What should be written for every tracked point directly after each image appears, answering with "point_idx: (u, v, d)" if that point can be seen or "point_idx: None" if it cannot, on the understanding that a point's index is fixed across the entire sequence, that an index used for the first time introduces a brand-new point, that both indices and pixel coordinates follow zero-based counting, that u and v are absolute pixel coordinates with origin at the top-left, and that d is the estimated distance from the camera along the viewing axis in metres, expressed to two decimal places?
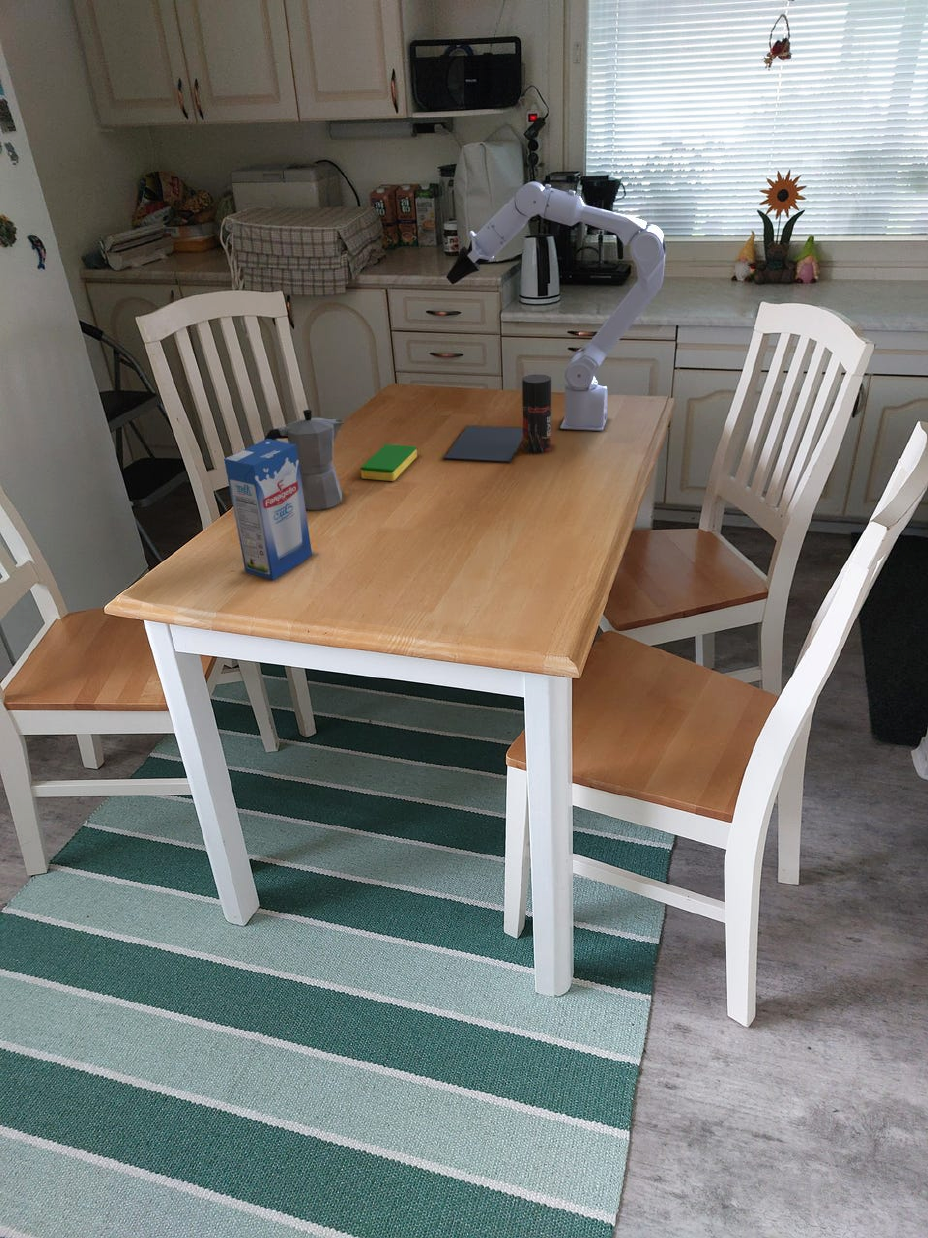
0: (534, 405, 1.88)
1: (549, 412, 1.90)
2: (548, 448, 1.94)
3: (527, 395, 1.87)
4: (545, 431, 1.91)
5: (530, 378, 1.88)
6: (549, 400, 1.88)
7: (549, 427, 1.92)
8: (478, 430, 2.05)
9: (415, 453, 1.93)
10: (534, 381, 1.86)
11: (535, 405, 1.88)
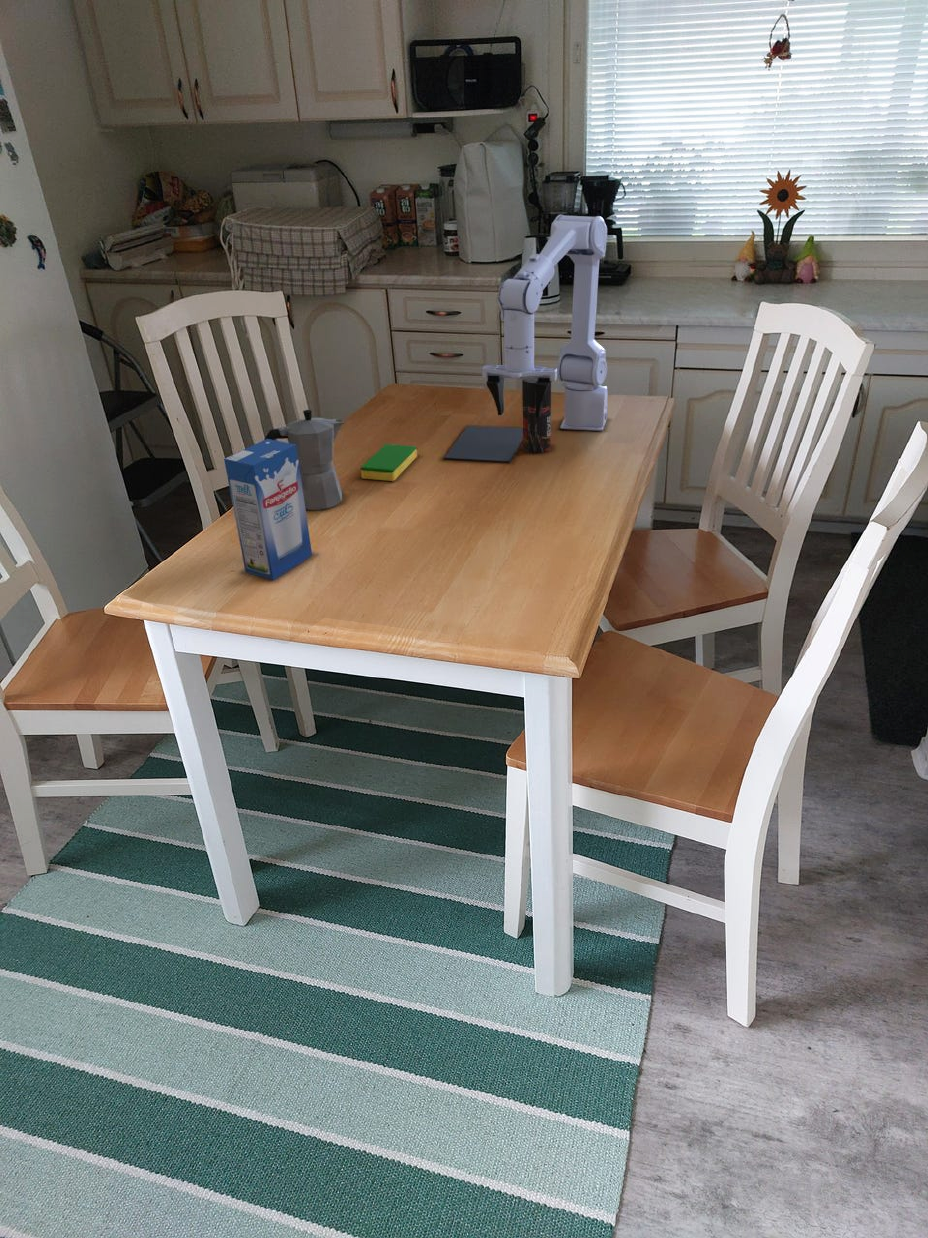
0: (534, 405, 1.88)
1: (549, 412, 1.90)
2: (548, 448, 1.94)
3: (527, 395, 1.87)
4: (545, 431, 1.91)
5: None
6: (549, 400, 1.88)
7: (549, 427, 1.92)
8: (478, 430, 2.05)
9: (415, 453, 1.93)
10: (534, 381, 1.86)
11: (535, 405, 1.88)
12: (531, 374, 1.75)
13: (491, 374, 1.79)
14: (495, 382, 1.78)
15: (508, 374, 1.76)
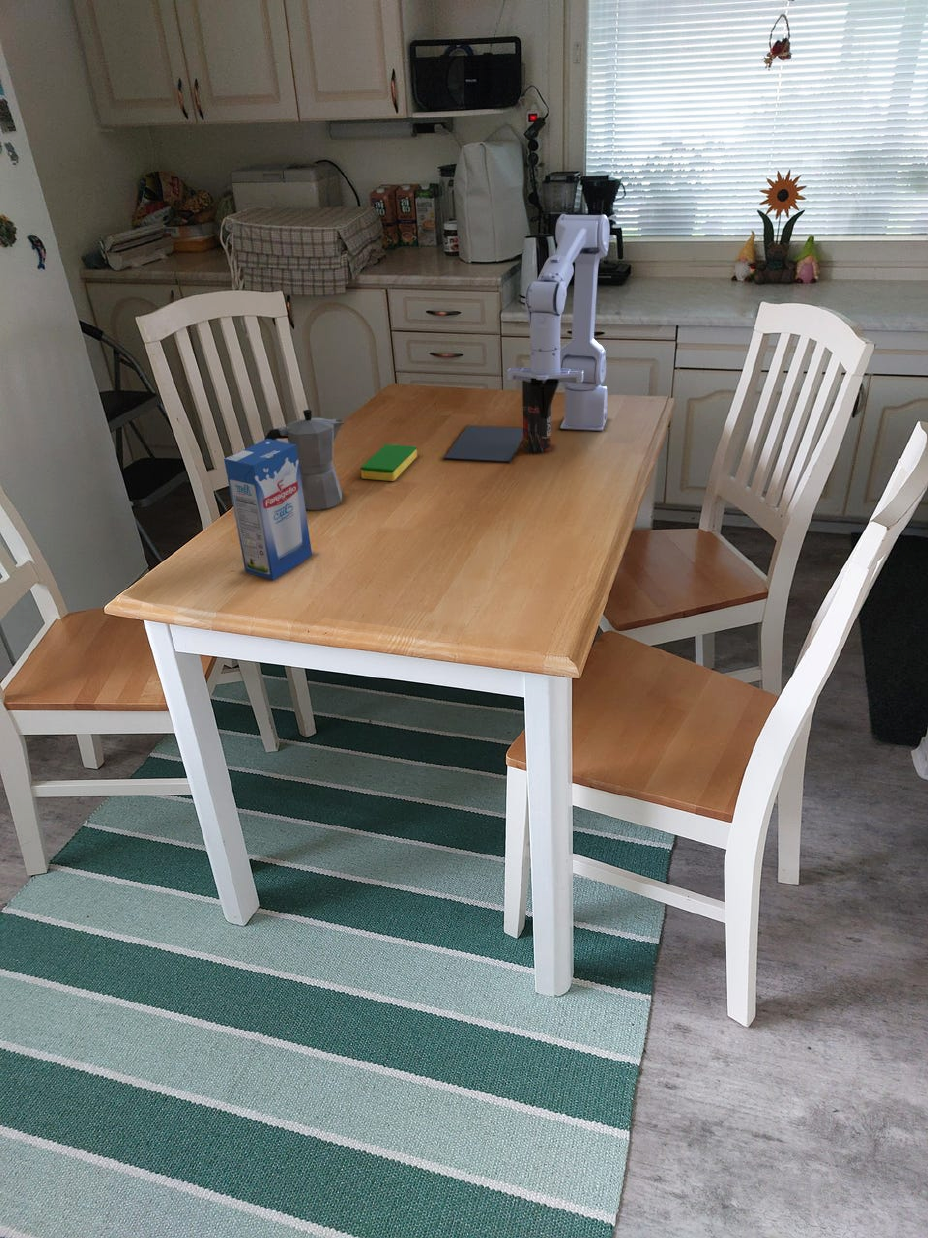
0: (534, 405, 1.88)
1: None
2: (548, 448, 1.94)
3: (527, 395, 1.87)
4: (545, 431, 1.91)
5: None
6: None
7: (549, 427, 1.92)
8: (478, 430, 2.05)
9: (415, 453, 1.93)
10: None
11: (535, 405, 1.88)
12: (557, 376, 1.74)
13: (534, 377, 1.77)
14: (539, 385, 1.76)
15: (534, 376, 1.75)
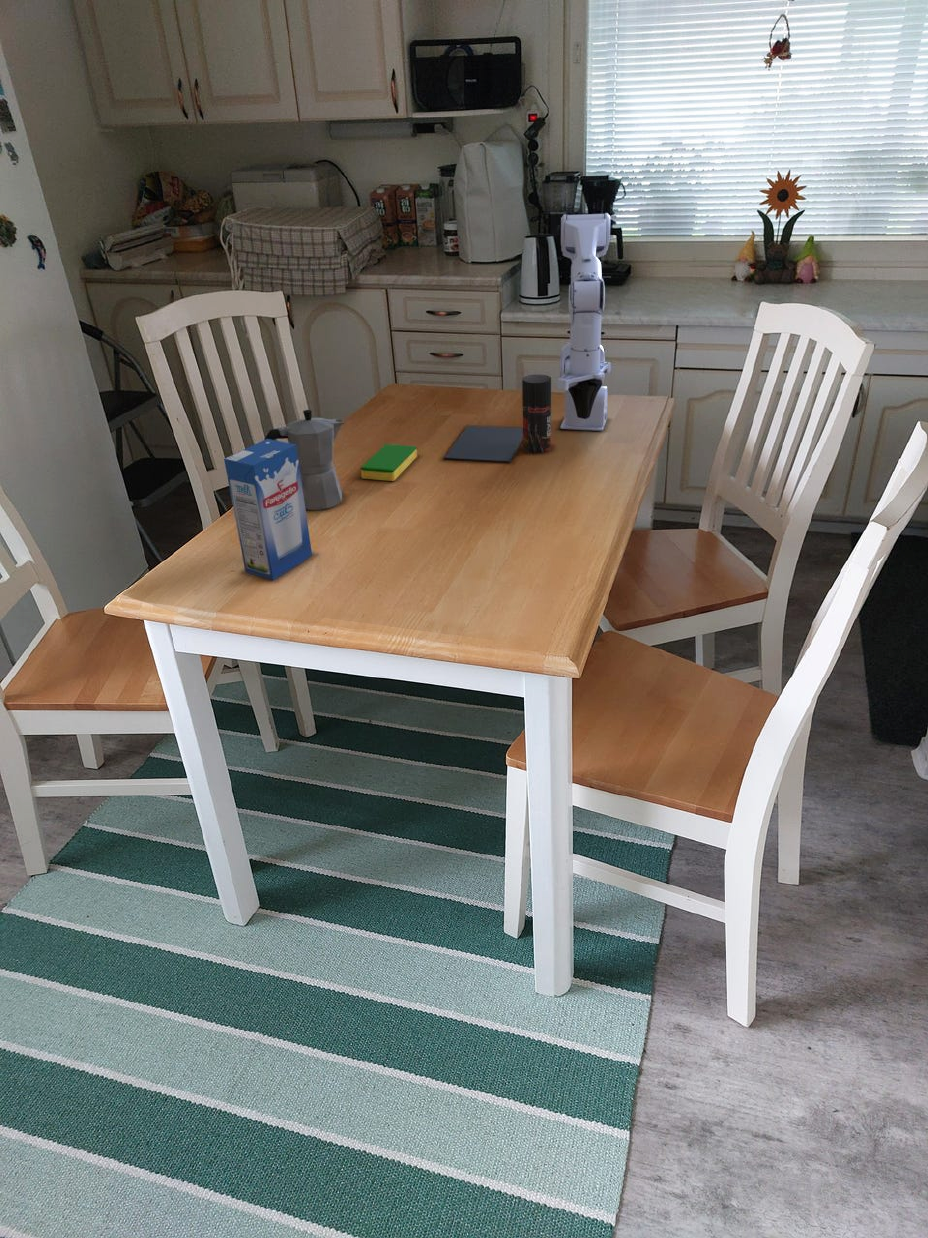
0: (534, 405, 1.88)
1: (549, 412, 1.90)
2: (548, 448, 1.94)
3: (527, 395, 1.87)
4: (545, 431, 1.91)
5: (530, 378, 1.88)
6: (549, 400, 1.88)
7: (549, 427, 1.92)
8: (478, 430, 2.05)
9: (415, 453, 1.93)
10: (534, 381, 1.86)
11: (535, 405, 1.88)
12: (602, 371, 1.76)
13: None
14: (590, 385, 1.75)
15: (591, 377, 1.73)
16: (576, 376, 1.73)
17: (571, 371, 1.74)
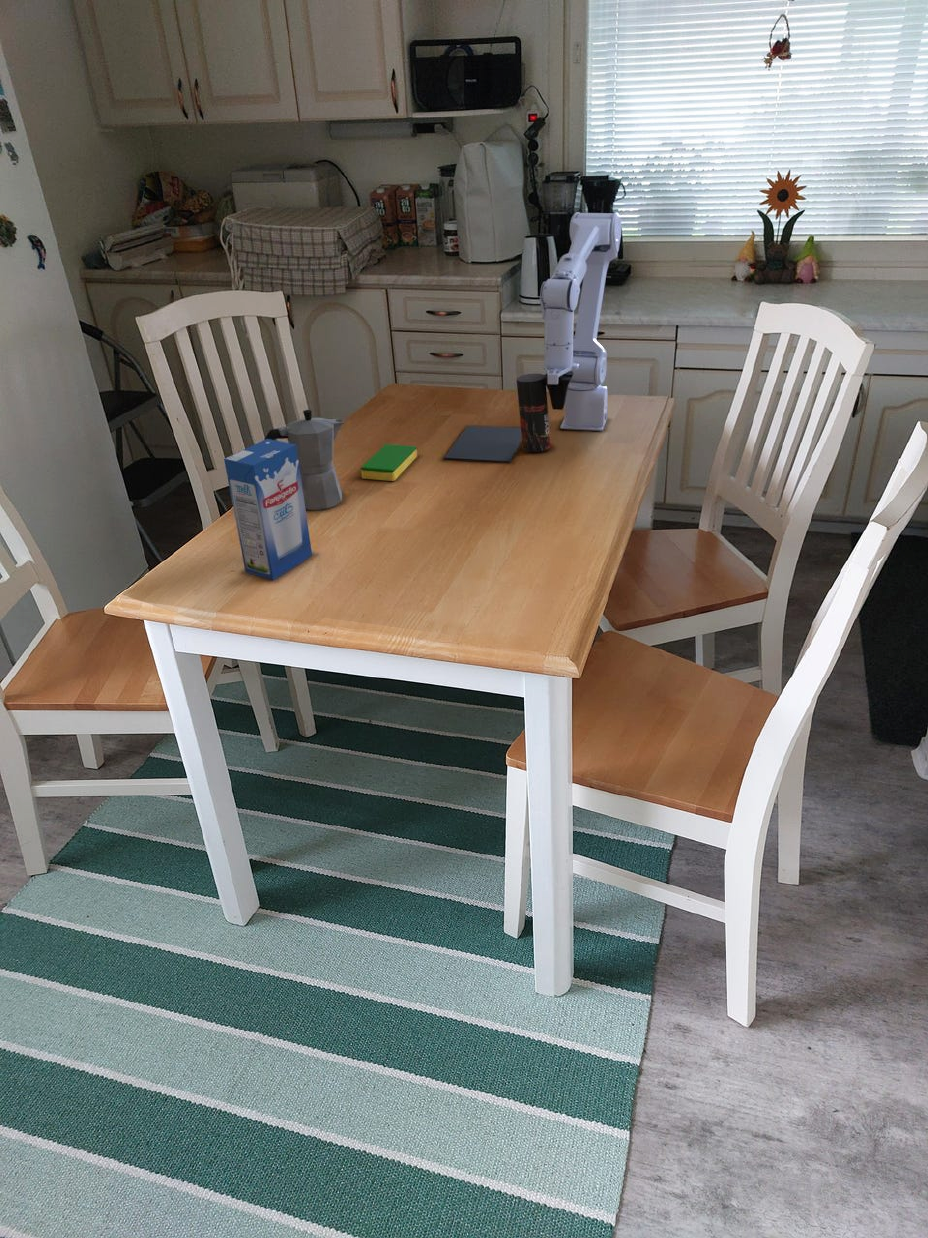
0: (530, 404, 1.88)
1: (546, 410, 1.90)
2: (548, 446, 1.93)
3: (522, 394, 1.87)
4: (543, 430, 1.91)
5: (524, 377, 1.88)
6: (545, 398, 1.88)
7: (547, 425, 1.91)
8: (478, 430, 2.05)
9: (415, 453, 1.93)
10: (528, 380, 1.86)
11: (531, 404, 1.88)
12: None
13: None
14: (568, 377, 1.85)
15: (570, 369, 1.83)
16: (558, 370, 1.82)
17: (550, 366, 1.83)
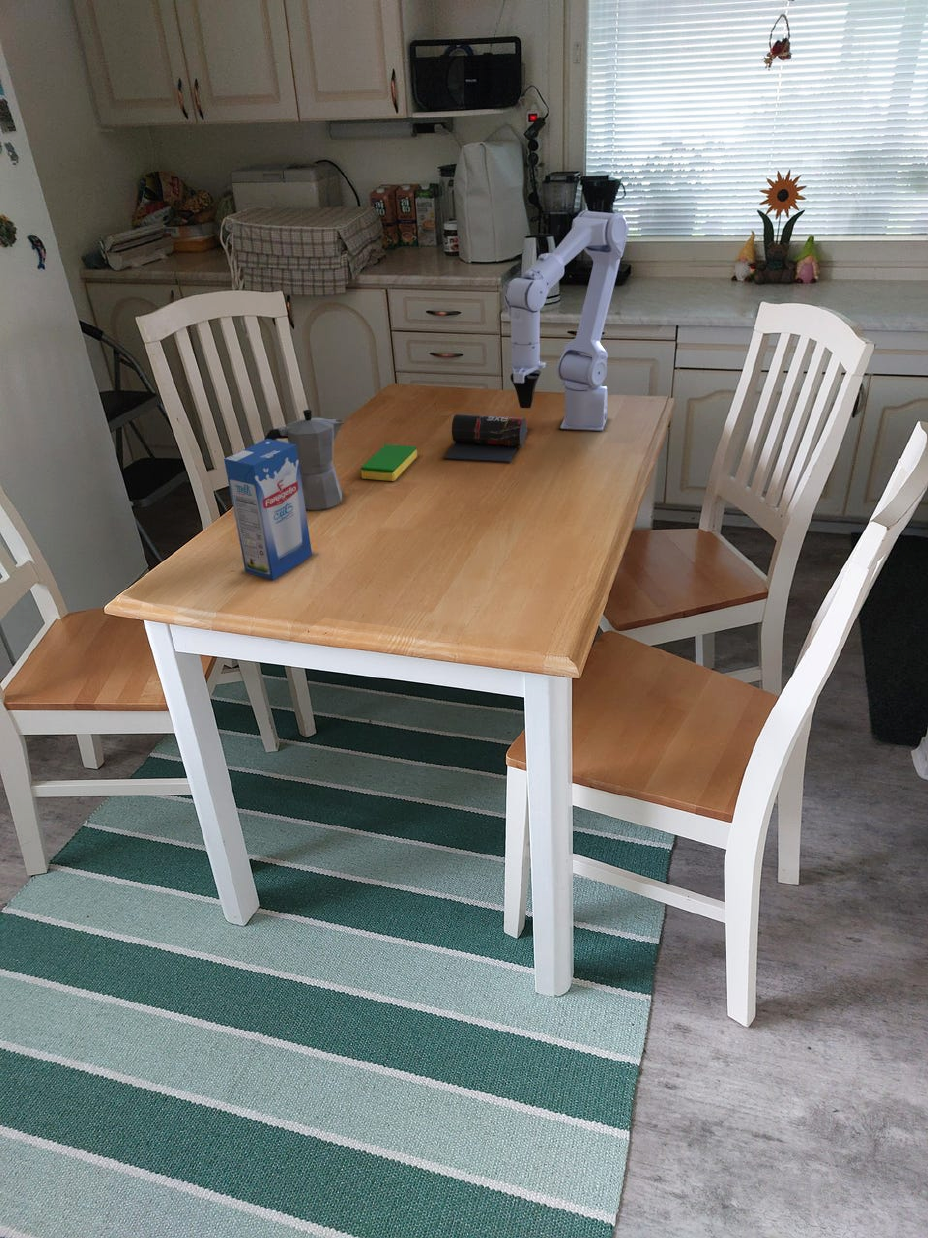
0: (472, 432, 1.95)
1: (484, 417, 1.95)
2: (519, 420, 1.93)
3: (464, 438, 1.96)
4: (500, 422, 1.93)
5: None
6: (473, 416, 1.96)
7: (499, 418, 1.94)
8: None
9: (415, 453, 1.93)
10: None
11: (472, 431, 1.95)
12: None
13: None
14: (534, 376, 1.87)
15: (537, 368, 1.85)
16: (524, 369, 1.84)
17: (517, 365, 1.85)
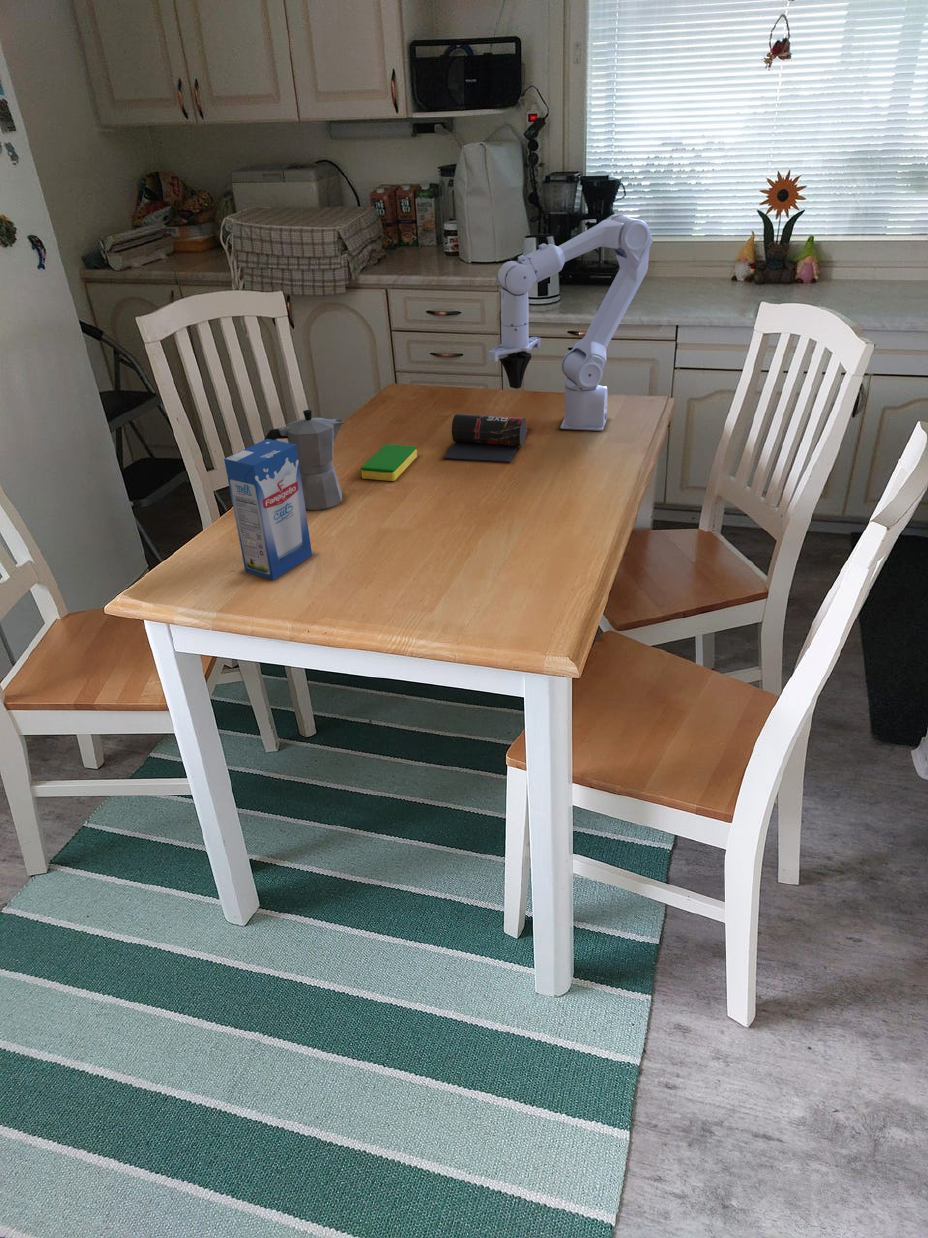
0: (472, 432, 1.95)
1: (484, 417, 1.95)
2: (519, 420, 1.93)
3: (464, 438, 1.96)
4: (500, 422, 1.93)
5: None
6: (473, 416, 1.96)
7: (499, 418, 1.94)
8: None
9: (415, 453, 1.93)
10: None
11: (472, 431, 1.95)
12: (531, 345, 1.94)
13: (509, 353, 1.93)
14: (519, 357, 1.93)
15: (519, 350, 1.91)
16: (506, 349, 1.92)
17: (502, 344, 1.93)
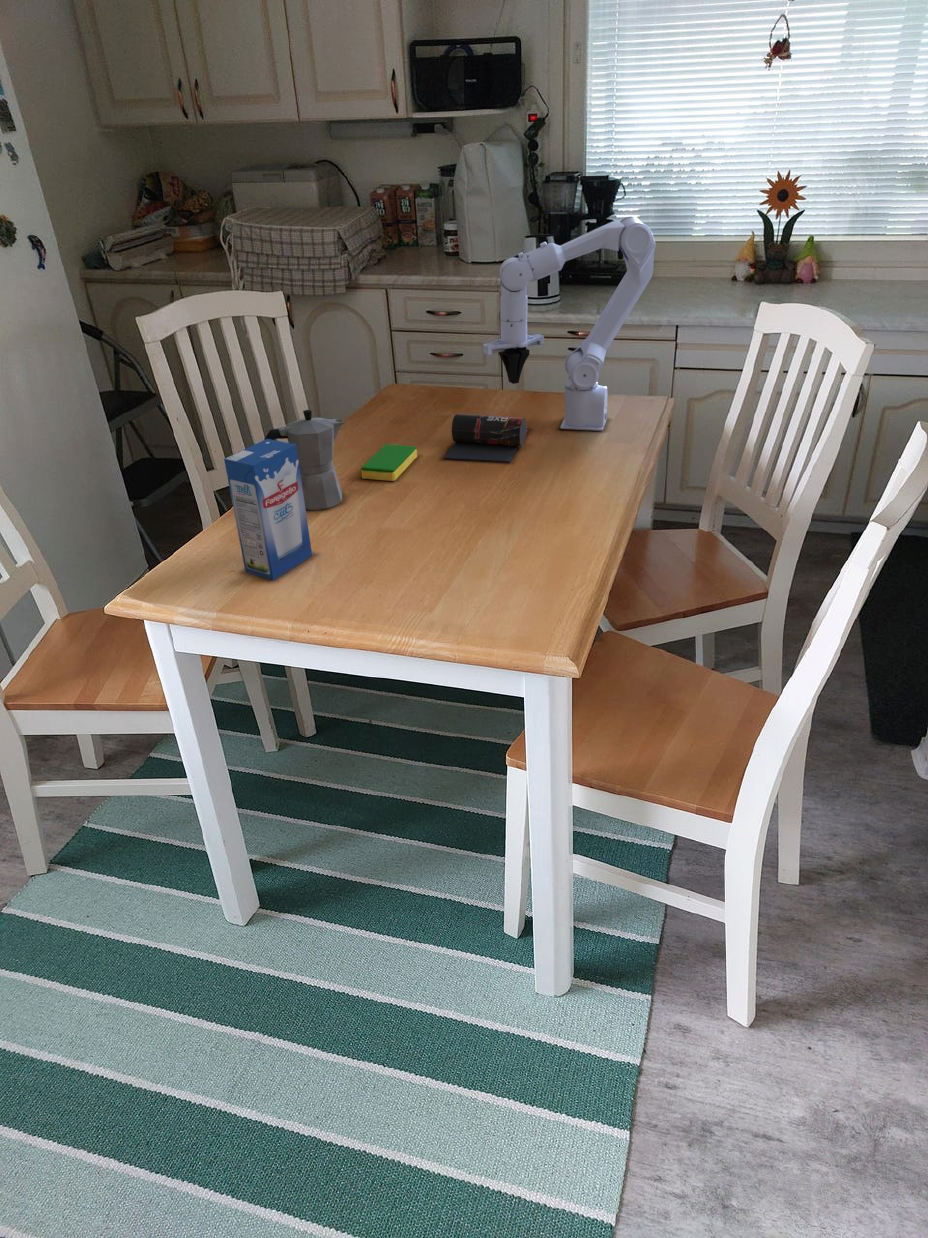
0: (472, 432, 1.95)
1: (484, 417, 1.95)
2: (519, 420, 1.93)
3: (464, 438, 1.96)
4: (500, 422, 1.93)
5: None
6: (473, 416, 1.96)
7: (499, 418, 1.94)
8: None
9: (415, 453, 1.93)
10: None
11: (472, 431, 1.95)
12: (530, 341, 1.97)
13: None
14: (516, 353, 1.96)
15: (515, 345, 1.94)
16: (502, 343, 1.95)
17: (500, 339, 1.96)
